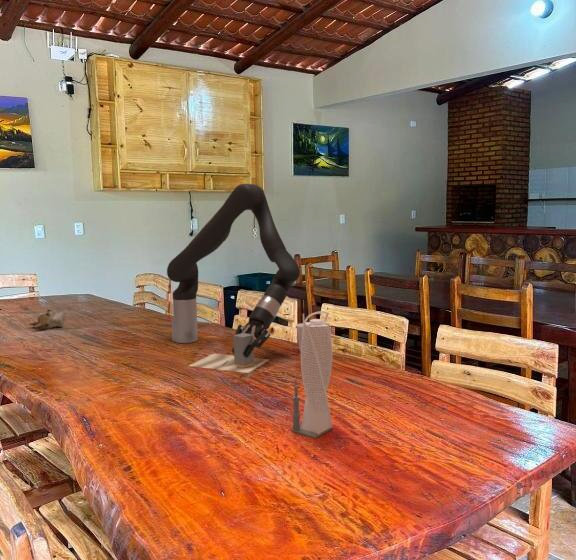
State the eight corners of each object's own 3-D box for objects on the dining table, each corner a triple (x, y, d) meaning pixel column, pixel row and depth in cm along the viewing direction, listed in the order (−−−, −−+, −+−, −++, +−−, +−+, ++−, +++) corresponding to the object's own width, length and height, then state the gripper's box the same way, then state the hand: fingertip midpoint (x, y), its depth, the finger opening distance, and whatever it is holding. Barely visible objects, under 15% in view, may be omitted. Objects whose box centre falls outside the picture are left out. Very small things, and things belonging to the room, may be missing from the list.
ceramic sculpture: (66, 309, 241) (30, 314, 233) (69, 327, 242) (32, 334, 235) (63, 305, 250) (27, 311, 242) (65, 324, 251) (30, 329, 244)
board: (188, 370, 176) (187, 365, 176) (213, 357, 191) (212, 353, 191) (248, 377, 168) (248, 372, 168) (269, 363, 183) (269, 359, 182)
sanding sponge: (234, 365, 176) (233, 335, 175) (244, 362, 179) (243, 332, 178) (243, 367, 173) (242, 337, 172) (254, 364, 176) (253, 334, 175)
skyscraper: (312, 420, 134) (311, 308, 130) (339, 428, 129) (339, 312, 125) (291, 431, 127) (289, 314, 124) (318, 439, 122) (318, 318, 118)
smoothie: (292, 351, 198) (292, 314, 196) (300, 347, 203) (300, 311, 201) (308, 353, 195) (308, 315, 193) (316, 349, 200) (315, 312, 198)
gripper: (244, 303, 184) (218, 344, 177) (274, 308, 174) (248, 352, 167) (255, 316, 188) (230, 357, 181) (286, 321, 179) (261, 364, 172)
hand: (239, 354), depth 174 cm, fingers closed on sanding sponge, 4 cm apart
